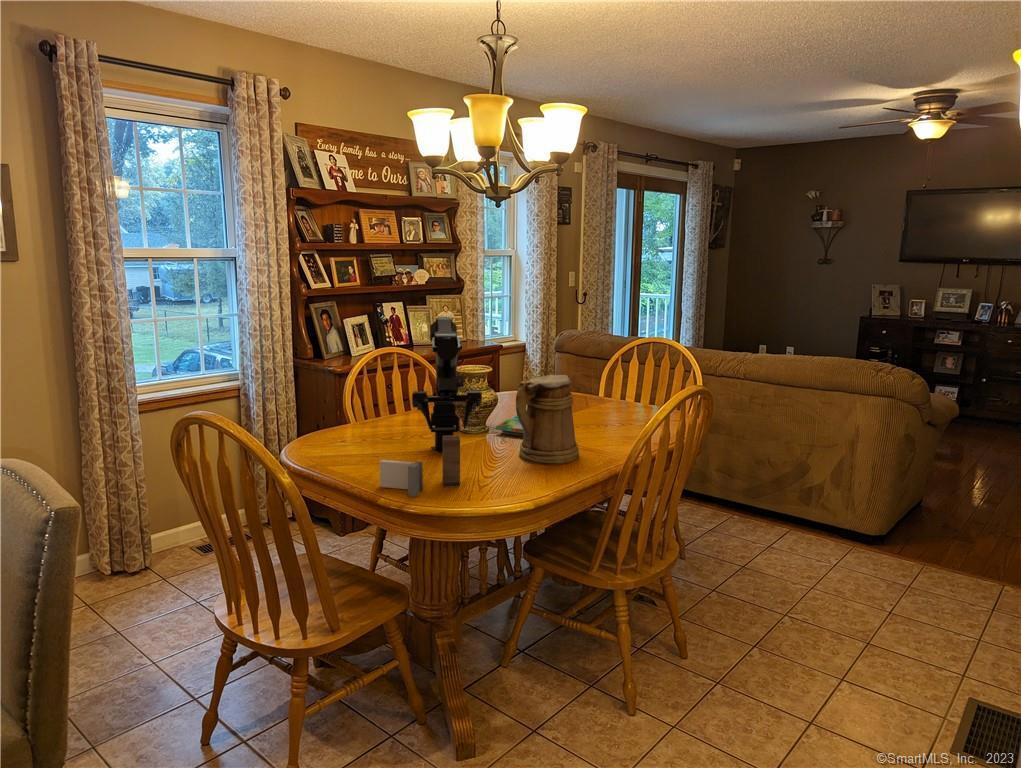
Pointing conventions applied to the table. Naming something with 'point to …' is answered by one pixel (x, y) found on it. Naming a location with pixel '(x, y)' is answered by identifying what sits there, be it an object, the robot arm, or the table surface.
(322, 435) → the table surface
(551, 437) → the tankard
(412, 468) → the gray upright block
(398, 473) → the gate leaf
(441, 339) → the robot arm
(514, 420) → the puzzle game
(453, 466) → the doorstop post
